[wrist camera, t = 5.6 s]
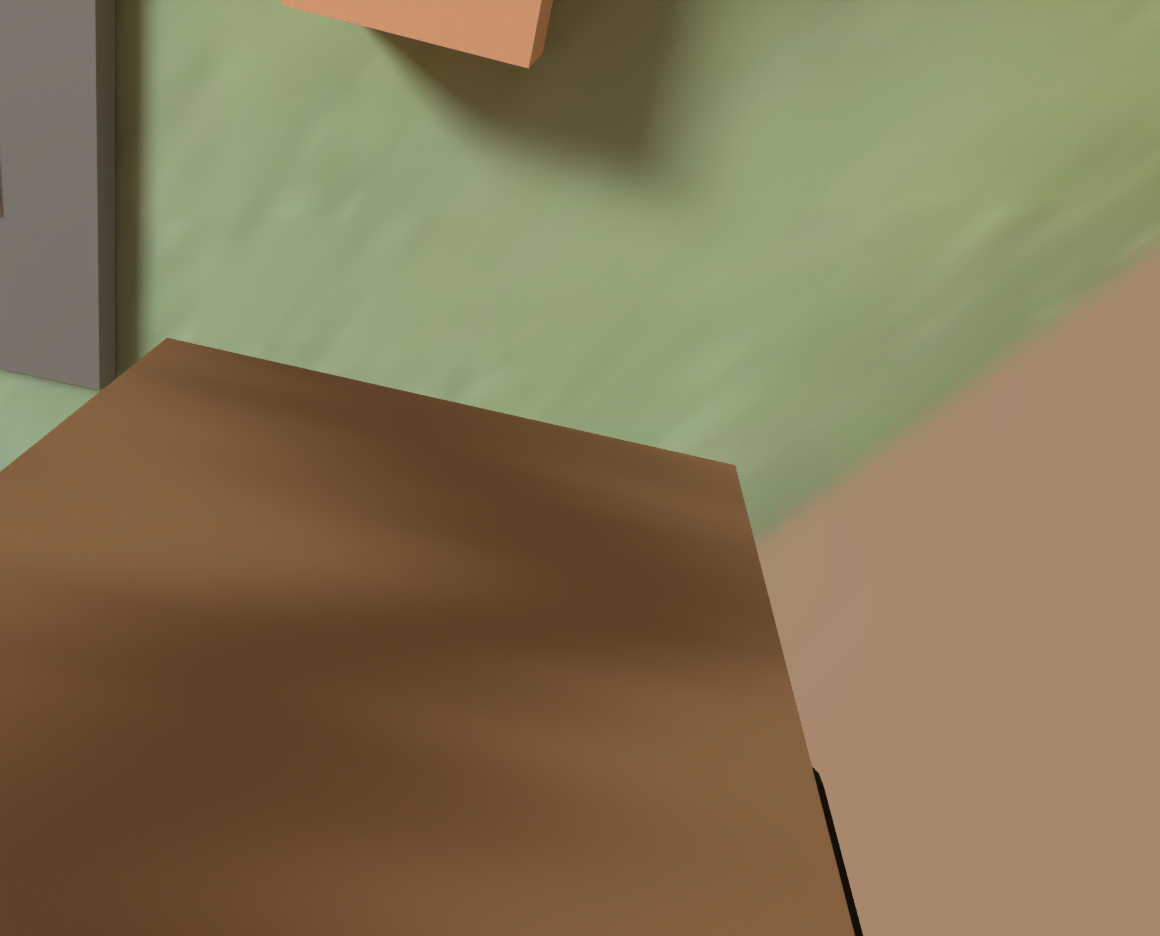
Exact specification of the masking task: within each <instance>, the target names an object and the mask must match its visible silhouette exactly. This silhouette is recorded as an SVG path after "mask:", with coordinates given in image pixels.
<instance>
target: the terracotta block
mask: <svg viewBox="0 0 1160 936" xmlns="http://www.w3.org/2000/svg"><path fill="white" fill-rule="evenodd" d="M281 5H284V6H288V7H292V8H296V9H299V10H303V11H307V12H311V13H315V14H319V15H323V16H327V17H331V18H334V19H338V20H342V21H346V22H350V23H354V24H358V25H362V26H365V27H369V28H373V29H377V30H381V31H385V32H389V33H393V34H396V35H400V36H404V37H408V38H412V39H416V40H420V41H424V42H427V43H431V44H435V45H439V46H443V47H447V48H451V49H455V50H458V51H462V52H466V53H470V54H474V55H478V56H482V57H486V58H490V59H493V60H497V61H501V62H505V63H509V64H513V65H517V66H521V67H524V68H528V69H529V67H530V66H531V65H532V64H533V63H534V62H535V61H536V60H537V59H538V58H539V57H540V56H541V55H542V54H543V50H544V45H545V40H546V35H547V30H548V25H549V20H550V15H551V10H552V5H553V0H282V3H281Z"/></svg>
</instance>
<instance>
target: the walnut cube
mask: <svg viewBox="0 0 1160 936" xmlns="http://www.w3.org/2000/svg"><path fill="white" fill-rule="evenodd" d="M0 936H855V934H854V930H853V926H852V922H851V918H850V914H849V911H848V907H847V903H846V899H845V895H844V891H843V887H842V883H841V879H840V875H839V871H838V867H837V863H836V860H835V856H834V852H833V848H832V844H831V840H830V836H829V832H828V828H827V824H826V820H825V816H824V812H823V809H822V805H821V801H820V797H819V793H818V789H817V785H816V781H815V777H814V773H813V769H812V765H811V761H810V758H809V754H808V750H807V746H806V742H805V738H804V734H803V730H802V726H801V722H800V719H799V714H798V711H797V706H796V703H795V699H794V695H793V691H792V687H791V683H790V679H789V676H788V671H787V667H786V663H785V660H784V656H783V652H782V648H781V644H780V640H779V636H778V632H777V628H776V624H775V621H774V616H773V612H772V608H771V604H770V601H769V597H768V593H767V589H766V585H765V581H764V577H763V573H762V569H761V565H760V562H759V558H758V553H757V550H756V546H755V542H754V538H753V534H752V530H751V526H750V522H749V518H748V514H747V510H746V506H745V502H744V499H743V495H742V491H741V487H740V483H739V479H738V475H737V471H736V467H735V465H731V464H727V463H722V462H718V461H713V460H709V459H705V458H700V457H696V456H691V455H687V454H682V453H678V452H673V451H669V450H664V449H660V448H656V447H651V446H647V445H642V444H638V443H633V442H629V441H624V440H620V439H615V438H611V437H607V436H602V435H598V434H593V433H589V432H584V431H580V430H575V429H571V428H566V427H562V426H558V425H553V424H549V423H544V422H540V421H535V420H531V419H526V418H522V417H517V416H513V415H509V414H504V413H500V412H495V411H491V410H486V409H482V408H477V407H473V406H468V405H464V404H460V403H455V402H451V401H446V400H442V399H437V398H433V397H428V396H424V395H419V394H415V393H411V392H406V391H402V390H397V389H393V388H388V387H384V386H379V385H375V384H370V383H366V382H362V381H357V380H353V379H348V378H344V377H339V376H335V375H330V374H326V373H321V372H317V371H313V370H308V369H304V368H299V367H295V366H290V365H286V364H281V363H277V362H272V361H268V360H264V359H259V358H255V357H250V356H246V355H241V354H237V353H232V352H228V351H223V350H219V349H215V348H210V347H206V346H201V345H197V344H192V343H188V342H183V341H179V340H174V339H170V338H166V339H165V340H164V341H163V342H161V343H160V344H159V345H158V346H156V347H155V348H154V349H153V350H151V351H150V352H149V353H148V354H146V355H145V356H144V357H143V358H141V359H140V360H139V361H138V362H136V363H135V364H134V365H133V366H131V367H130V368H129V369H128V370H126V371H125V372H124V373H123V374H121V375H120V376H119V377H118V378H117V379H115V380H114V381H113V382H112V383H110V384H109V385H108V386H107V387H105V388H104V389H103V390H102V391H100V392H99V393H98V394H97V395H95V396H94V397H93V398H92V399H90V400H89V401H88V402H87V403H85V404H84V405H83V406H82V407H80V408H79V409H78V410H77V411H75V412H74V413H73V414H72V415H70V416H69V417H68V418H67V419H65V420H64V421H63V422H62V423H61V424H59V425H58V426H57V427H56V428H54V429H53V430H52V431H51V432H49V433H48V434H47V435H46V436H44V437H43V438H42V439H41V440H39V441H38V442H37V443H36V444H34V445H33V446H32V447H31V448H29V449H28V450H27V451H26V452H24V453H23V454H22V455H21V456H19V457H18V458H17V459H16V460H14V461H13V462H12V463H11V464H10V465H8V466H7V467H6V468H5V469H3V470H2V471H1V472H0Z"/></svg>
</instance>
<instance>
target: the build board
mask: <svg viewBox="0 0 1160 936" xmlns="http://www.w3.org/2000/svg"><path fill="white" fill-rule="evenodd" d="M0 369H3V370H8V371H12V372H17V373H21V374H26V375H31V376H35V377H40V378H44V379H49V380H54V381H58V382H63V383H68V384H72V385H77V386H81V387H86V388H91V389H95V390H101V389H102V388H103V387H104V386H106V385H107V384H108V383H109V382H111V381H112V380H113V379H114V378H116V169H115V0H0Z"/></svg>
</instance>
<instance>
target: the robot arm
mask: <svg viewBox="0 0 1160 936" xmlns="http://www.w3.org/2000/svg"><path fill="white" fill-rule="evenodd" d="M812 769H813V773H814V777H815V781H816V785H817V789H818V793H819V797H820V801H821V805H822V809H823V812H824V816H825V820H826V824H827V828H828V832H829V836H830V840H831V844H832V848H833V852H834V856H835V860H836V863H837V867H838V871H839V875H840V879H841V883H842V887H843V891H844V895H845V899H846V903H847V907H848V911H849V914H850V918H851V922H852V926H853V930H854V934H855V936H863V934H862V930H861V926H860V922H859V918H858V915H857V911H856V907H855V903H854V899H853V896H852V892H851V888H850V885H849V880H848V877H847V873H846V869H845V865H844V862H843V858H842V854H841V850H840V846H839V843H838V839H837V835H836V832H835V827H834V824H833V820H832V816H831V812H830V809H829V805H828V801H827V797H826V793H825V790H824V786H823V783H822V781H821V778H820V775H819V773H818V772H817V771H816V770H815V769H814V768H813V767H812Z"/></svg>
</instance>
